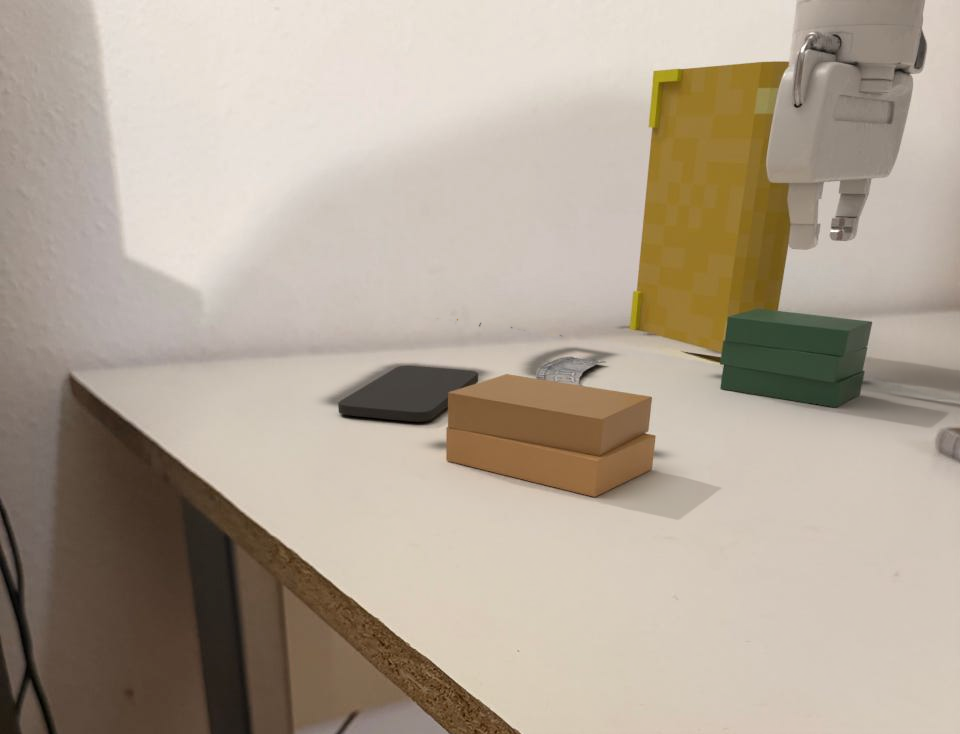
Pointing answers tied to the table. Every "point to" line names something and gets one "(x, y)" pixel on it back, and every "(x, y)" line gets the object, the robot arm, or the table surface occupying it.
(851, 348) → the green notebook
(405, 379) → the phone
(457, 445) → the tan stack
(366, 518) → the table surface
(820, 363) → the green stack
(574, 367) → the coin fragment
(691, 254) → the book
